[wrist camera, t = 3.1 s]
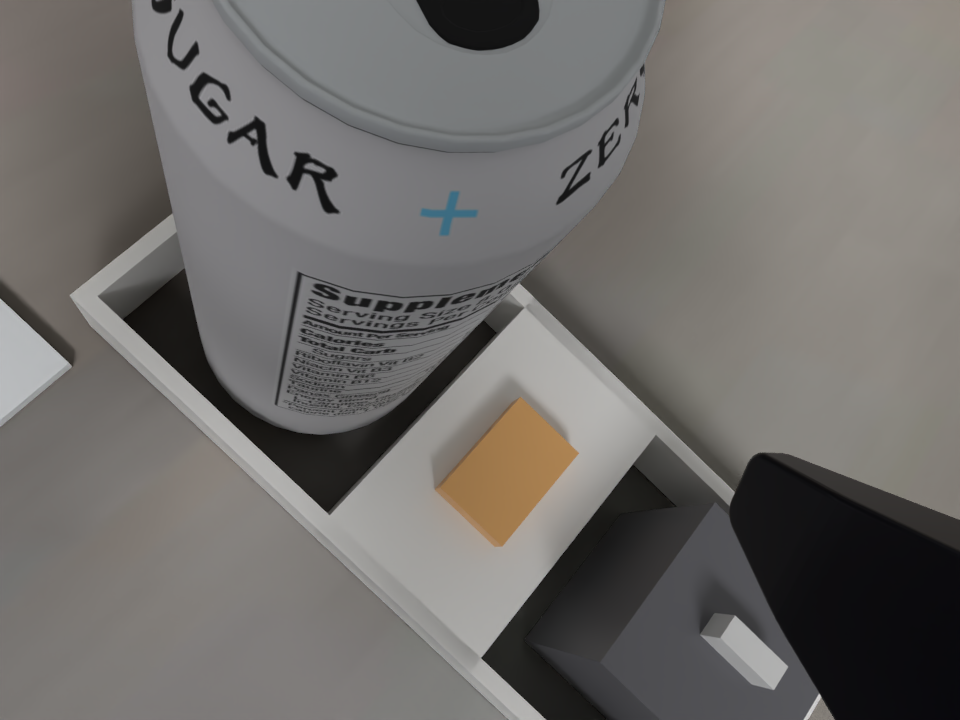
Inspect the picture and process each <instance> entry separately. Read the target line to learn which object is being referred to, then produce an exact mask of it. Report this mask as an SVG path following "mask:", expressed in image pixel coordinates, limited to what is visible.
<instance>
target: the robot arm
mask: <svg viewBox="0 0 960 720" xmlns="http://www.w3.org/2000/svg"><path fill="white" fill-rule="evenodd" d="M729 518H730V523H731V526H732V529H733V531H734V533H735V535H736V537H737V539H738V541H739V544H740V546H741V548H742V550H743V552H744V554H745V556H746V559H747V561H748V563H749V565H750V567H751V569H752V571H753V574H754V576H755V578H756V580H757V582H758V584H759V586H760V589H761V591H762V593H763V595H764V597H765V599H766V601H767V604H768V606H769V608H770V610H771V612H772V614H773V616H774V618H775V620H776V621H777V623H778V625H779V627H780V628H781V630H782V632H783V634H784V635H785V637H786V639H787V640H788V642H789V644H790V646H791V647H792V649H793V651H794V652H795V654H796V656H797V657H798V659H799V661H800V662H801V664H802V666H803V667H804V669H805V671H806V672H807V674H808V676H809V677H810V679H811V681H812V682H813V684H814V686H815V687H816V689H817V691H818V692H819V694H820V696H821V697H822V699H823V701H824V702H825V704H826V706H827V707H828V709H829V711H830V712H831V714H832V716H833V717H834V719H835V720H960V520H958V519H956V518H953V517H950V516H948V515H945V514H943V513H940V512H937V511H935V510H932V509H930V508H927V507H924V506H922V505H919V504H917V503H914V502H911V501H909V500H906V499H904V498H901V497H898V496H896V495H893V494H891V493H888V492H885V491H883V490H880V489H878V488H875V487H872V486H870V485H867V484H864V483H862V482H859V481H857V480H854V479H851V478H849V477H846V476H844V475H841V474H838V473H836V472H833V471H831V470H828V469H825V468H823V467H820V466H818V465H815V464H812V463H810V462H807V461H805V460H802V459H799V458H797V457H794V456H792V455H789V454H784V453H758V454H756V455H754V456H753V457H752V458H751V459H750V460H749V462H748V464H747V467H746V469H745V471H744V473H743V475H742V478H741V480H740V482H739V484H738V486H737V489H736V491H735V493H734V495H733V497H732V500H731V503H730V508H729Z"/></svg>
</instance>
